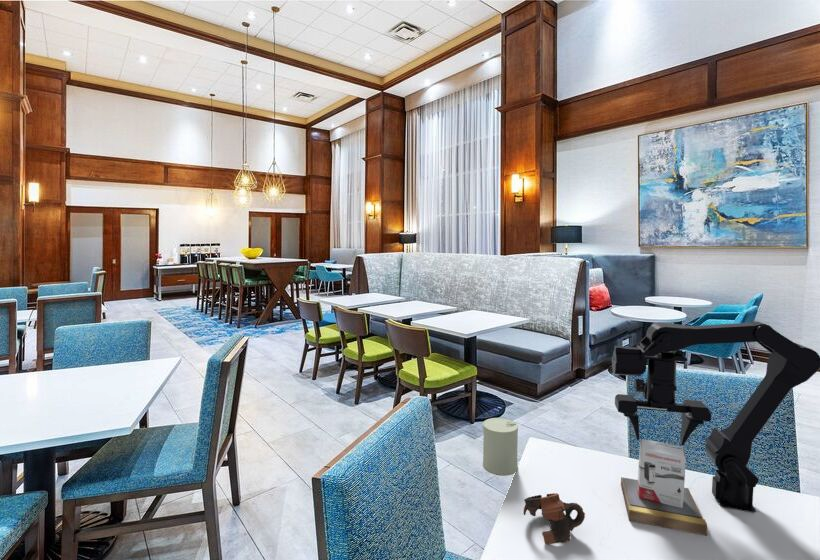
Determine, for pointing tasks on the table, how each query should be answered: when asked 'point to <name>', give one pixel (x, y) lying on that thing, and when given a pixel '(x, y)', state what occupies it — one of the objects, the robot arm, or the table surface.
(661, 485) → the ink box
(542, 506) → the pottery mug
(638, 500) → the framed panel
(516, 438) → the can
